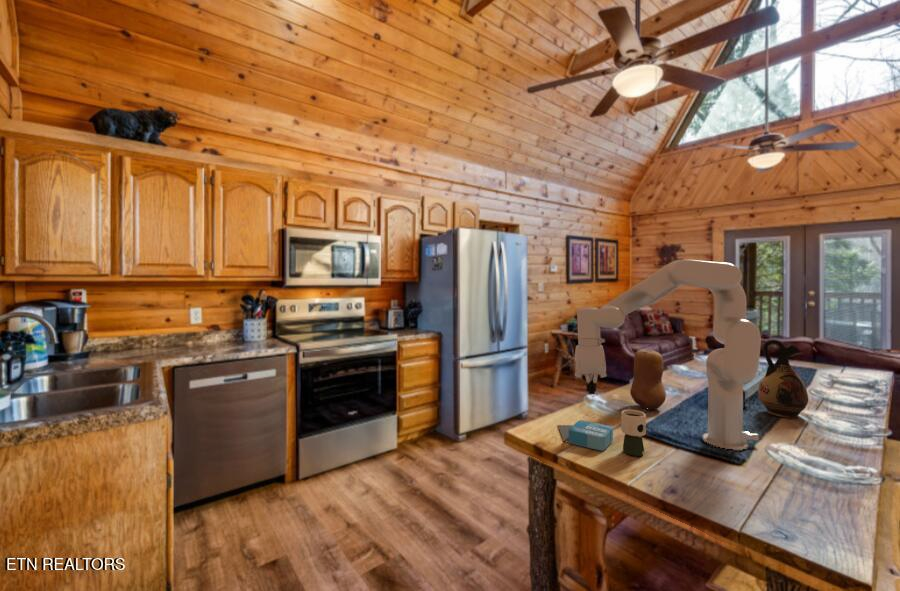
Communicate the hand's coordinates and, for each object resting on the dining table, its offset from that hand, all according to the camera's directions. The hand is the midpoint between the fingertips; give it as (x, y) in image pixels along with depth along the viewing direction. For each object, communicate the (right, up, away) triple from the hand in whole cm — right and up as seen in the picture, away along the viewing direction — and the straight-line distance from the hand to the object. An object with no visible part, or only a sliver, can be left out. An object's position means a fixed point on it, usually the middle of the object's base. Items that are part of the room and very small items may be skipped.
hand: (591, 393), depth 142 cm
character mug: (+8, -16, -15) cm, 23 cm away
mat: (-4, -15, +1) cm, 16 cm away
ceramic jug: (+82, -13, +19) cm, 85 cm away
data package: (+1, -12, -1) cm, 12 cm away
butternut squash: (+34, -14, +29) cm, 47 cm away
